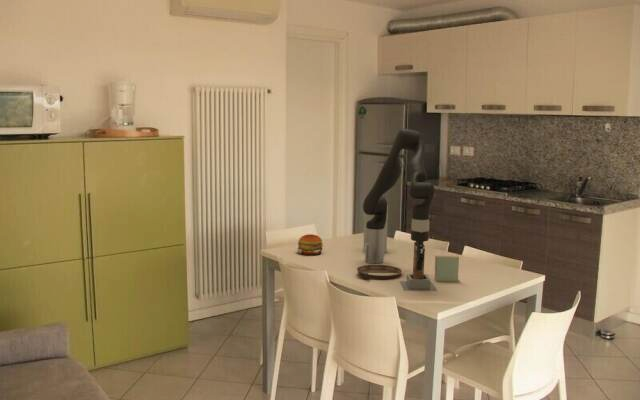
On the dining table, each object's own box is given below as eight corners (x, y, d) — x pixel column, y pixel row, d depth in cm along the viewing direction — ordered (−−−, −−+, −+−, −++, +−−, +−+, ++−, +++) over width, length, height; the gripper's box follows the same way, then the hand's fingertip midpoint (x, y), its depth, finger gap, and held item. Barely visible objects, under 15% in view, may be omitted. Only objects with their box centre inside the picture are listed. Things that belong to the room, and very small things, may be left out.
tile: (435, 283, 267) (436, 256, 265) (434, 281, 270) (435, 255, 268) (457, 283, 267) (459, 257, 265) (456, 281, 270) (457, 255, 268)
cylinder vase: (391, 252, 325) (392, 206, 321) (373, 255, 318) (374, 208, 314) (376, 248, 335) (377, 203, 331) (358, 250, 328) (359, 205, 324)
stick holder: (403, 292, 252) (404, 281, 251) (399, 283, 266) (400, 272, 265) (437, 293, 252) (437, 281, 251) (431, 283, 266) (431, 272, 265)
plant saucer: (373, 268, 292) (373, 261, 292) (410, 276, 279) (410, 269, 279) (347, 276, 276) (347, 269, 276) (385, 285, 263) (385, 278, 263)
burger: (327, 254, 319) (328, 235, 318) (306, 257, 311) (306, 238, 310) (313, 249, 330) (313, 231, 328) (292, 252, 322) (292, 233, 321)
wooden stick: (413, 286, 257) (415, 249, 254) (412, 283, 261) (413, 247, 258) (423, 286, 257) (424, 249, 254) (421, 283, 261) (423, 247, 258)
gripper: (409, 225, 262) (407, 264, 265) (413, 232, 248) (412, 272, 251) (426, 226, 262) (424, 264, 265) (431, 232, 248) (430, 273, 251)
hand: (418, 268), depth 258 cm, fingers closed on wooden stick, 4 cm apart
